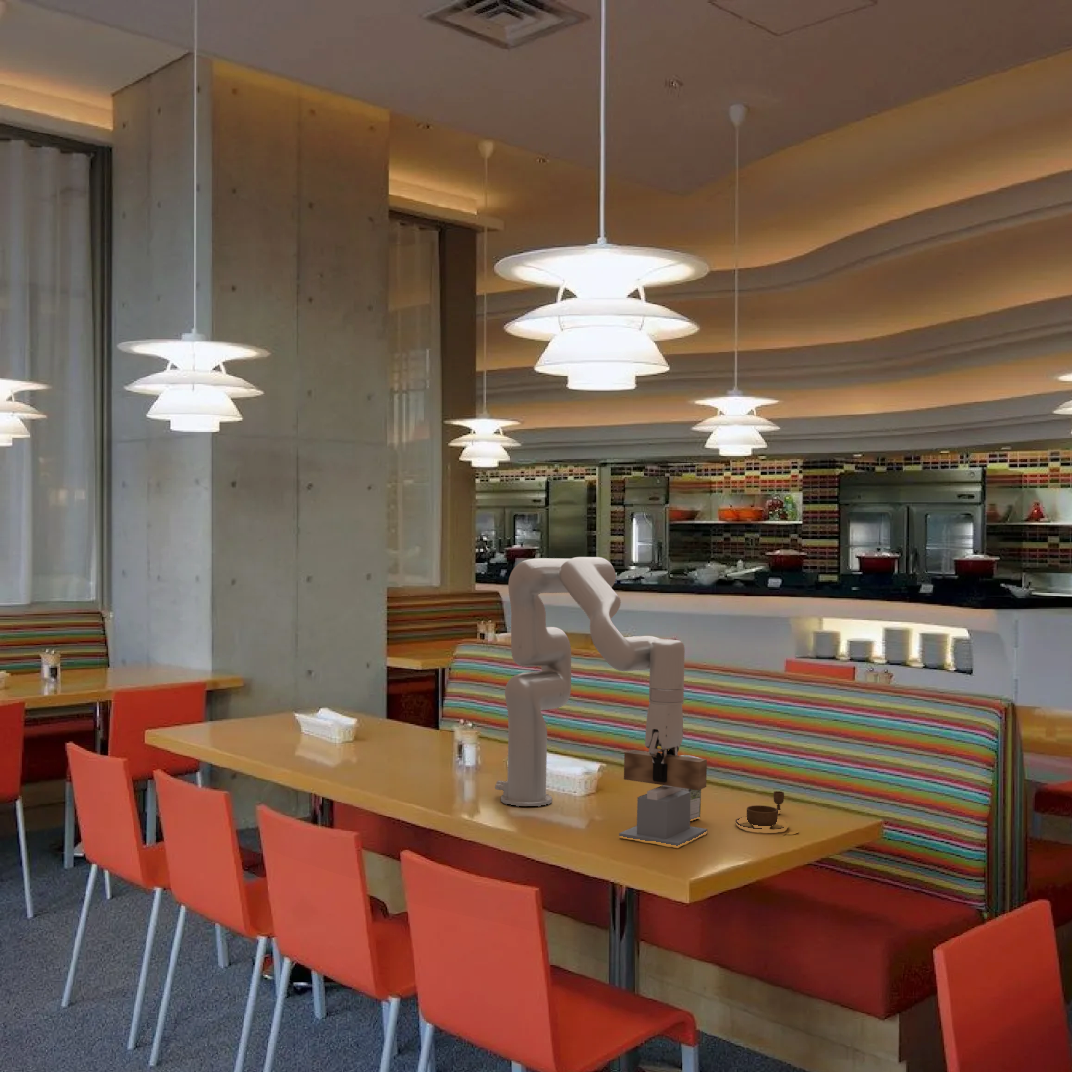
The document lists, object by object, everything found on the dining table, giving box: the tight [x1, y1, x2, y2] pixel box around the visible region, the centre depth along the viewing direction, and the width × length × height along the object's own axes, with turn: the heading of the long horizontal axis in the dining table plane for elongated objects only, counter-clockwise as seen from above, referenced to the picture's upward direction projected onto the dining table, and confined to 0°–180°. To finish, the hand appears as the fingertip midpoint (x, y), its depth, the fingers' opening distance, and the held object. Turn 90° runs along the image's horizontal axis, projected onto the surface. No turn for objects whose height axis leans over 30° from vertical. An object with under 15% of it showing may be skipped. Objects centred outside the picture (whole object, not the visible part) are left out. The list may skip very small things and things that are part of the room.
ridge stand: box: [618, 785, 708, 846], centre depth 259 cm, size 14×15×11 cm
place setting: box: [735, 790, 785, 829], centre depth 271 cm, size 18×20×6 cm
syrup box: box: [680, 754, 702, 820], centre depth 275 cm, size 6×6×14 cm
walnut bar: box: [623, 749, 708, 791], centre depth 259 cm, size 18×4×6 cm, turn 58°
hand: (664, 778), depth 259 cm, fingers closed on walnut bar, 4 cm apart
